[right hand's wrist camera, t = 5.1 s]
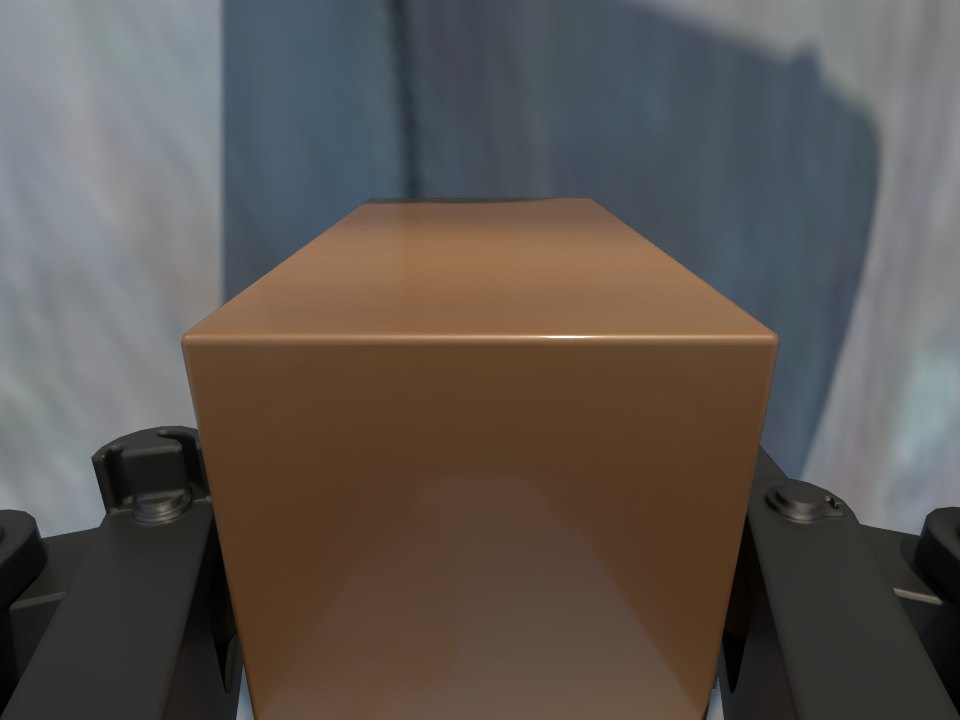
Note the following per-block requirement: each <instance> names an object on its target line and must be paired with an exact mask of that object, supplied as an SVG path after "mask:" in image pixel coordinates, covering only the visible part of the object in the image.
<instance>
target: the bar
mask: <svg viewBox="0 0 960 720" xmlns="http://www.w3.org/2000/svg"><path fill="white" fill-rule="evenodd" d="M181 346H182V351H183V356H184V361H185V366H186V371H187V377H188V382H189V387H190V392H191V397H192V402H193V407H194V413H195V418H196V423H197V428H198V433H199V438H200V443H201V448H202V454H203V459H204V464H205V469H206V474H207V479H208V484H209V490H210V495H211V500H212V505H213V510H214V515H215V520H216V525H217V531H218V536H219V541H220V546H221V551H222V556H223V561H224V566H225V572H226V577H227V582H228V587H229V592H230V597H231V602H232V608H233V613H234V618H235V623H236V628H237V633H238V638H239V643H240V649H241V654H242V659H243V664H244V669H245V674H246V679H247V685H248V690H249V695H250V700H251V705H252V710H253V715H254V720H706V717H707V712H708V707H709V702H710V697H711V692H712V686H713V681H714V676H715V671H716V666H717V661H718V656H719V651H720V645H721V640H722V635H723V630H724V625H725V620H726V615H727V609H728V604H729V599H730V594H731V589H732V584H733V579H734V574H735V568H736V563H737V558H738V553H739V548H740V543H741V538H742V533H743V527H744V522H745V517H746V512H747V507H748V502H749V497H750V492H751V486H752V481H753V476H754V471H755V466H756V461H757V456H758V451H759V445H760V440H761V435H762V430H763V425H764V420H765V415H766V409H767V404H768V399H769V394H770V389H771V384H772V379H773V374H774V368H775V363H776V358H777V353H778V348H779V340H778V336H777V334H776V333H774V332H773V331H772V330H770V329H769V328H768V327H766V326H765V325H764V324H762V323H761V322H759V321H758V320H757V319H755V318H754V317H753V316H751V315H750V314H748V313H747V312H746V311H744V310H743V309H742V308H740V307H739V306H738V305H736V304H735V303H733V302H732V301H731V300H729V299H728V298H727V297H725V296H724V295H722V294H721V293H720V292H718V291H717V290H716V289H714V288H713V287H711V286H710V285H709V284H707V283H706V282H705V281H703V280H702V279H701V278H699V277H698V276H696V275H695V274H694V273H692V272H691V271H690V270H688V269H687V268H685V267H684V266H683V265H681V264H680V263H679V262H677V261H676V260H674V259H673V258H672V257H670V256H669V255H668V254H666V253H665V252H664V251H662V250H661V249H659V248H658V247H657V246H655V245H654V244H653V243H651V242H650V241H648V240H647V239H646V238H644V237H643V236H642V235H640V234H639V233H637V232H636V231H635V230H633V229H632V228H631V227H629V226H628V225H627V224H625V223H624V222H622V221H621V220H620V219H618V218H617V217H616V216H614V215H613V214H611V213H610V212H609V211H607V210H606V209H605V208H603V207H602V206H600V205H599V204H598V203H596V202H595V201H594V200H592V199H590V198H371V199H368V200H367V201H366V202H364V203H363V204H362V205H360V206H359V207H357V208H356V209H355V210H353V211H352V212H351V213H349V214H348V215H346V216H345V217H344V218H342V219H341V220H340V221H338V222H337V223H335V224H334V225H333V226H331V227H330V228H329V229H327V230H326V231H324V232H323V233H322V234H320V235H319V236H318V237H316V238H315V239H313V240H312V241H311V242H309V243H308V244H307V245H305V246H304V247H303V248H301V249H300V250H298V251H297V252H296V253H294V254H293V255H292V256H290V257H289V258H287V259H286V260H285V261H283V262H282V263H281V264H279V265H278V266H276V267H275V268H274V269H272V270H271V271H270V272H268V273H267V274H265V275H264V276H263V277H261V278H260V279H259V280H257V281H256V282H254V283H253V284H252V285H250V286H249V287H248V288H246V289H245V290H243V291H242V292H241V293H239V294H238V295H237V296H235V297H234V298H232V299H231V300H230V301H228V302H227V303H226V304H224V305H223V306H221V307H220V308H219V309H217V310H216V311H215V312H213V313H212V314H210V315H209V316H208V317H206V318H205V319H204V320H202V321H201V322H199V323H198V324H197V325H195V326H194V327H193V328H191V329H190V330H189V331H187V332H186V333H184V334H183V337H182V343H181Z"/></svg>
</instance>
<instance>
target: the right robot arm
mask: <svg viewBox="0 0 960 720" xmlns="http://www.w3.org/2000/svg"><path fill="white" fill-rule="evenodd" d="M91 459H92V462H93V466H94V470H95V473H96V477H97V481H98V484H99V488H100V492H101V495H102V499H103V502H104V506H105V510H106V515H105V517H104V519H103V521H102V523H101V525H100V527H97V528H93V529H89V530H84V531H78V532H73V533H68V534H63V535H57V536H52V537H47V538H41V536H40V533H39V530H38V527H37V524H36V521H35V518H34V517H32V516H31V515H30V514H28V513H27V512H25V511H17V510H9V509H8V510H0V720H236V716H237V708H238V700H239V692H240V685H241V677H242V669H243V659H242V654H241V649H240V643H239V638H238V633H237V628H236V623H235V618H234V613H233V608H232V602H231V597H230V592H229V587H228V582H227V577H226V572H225V566H224V561H223V556H222V551H221V546H220V541H219V536H218V531H217V525H216V520H215V515H214V510H213V505H212V500H211V495H210V490H209V484H208V479H207V474H206V469H205V464H204V459H203V454H202V448H201V443H200V438H199V433H198V430H197V429H194V428H189V427H183V426H163V427H156V428H151V429H145V430H140V431H137V432H134V433H131V434H128V435H125V436H122V437H119V438H118V439H116V440H114V441H112V442H110V443H108V444H106V445H105V446H103V447H101V448H100V449H99V450H98V451H97V452H96V453H95V454H94V455H93V456H92V457H91ZM718 676H719V683H720V691H721V699H722V707H723V715H724V720H960V507H946V508H938V509H935V510H934V511H932V512H931V513H929V514H928V515H927V516H926V519H925V522H924V525H923V528H922V531H921V535H920V536H918V535H913V534H907V533H902V532H897V531H891V530H886V529H881V528H875V527H870V526H866V525H862V524H859V522H858V520H857V518H856V516H855V514H854V512H853V511H852V510H851V509H850V508H849V507H848V505H847V504H846V503H845V502H844V501H843V500H841V499H840V498H838V497H837V496H835V495H834V494H832V493H831V492H829V491H828V490H825V489H823V488H820V487H818V486H815V485H813V484H810V483H808V482H803V481H798V480H794V479H789V478H787V476H786V475H785V474H784V473H783V472H782V471H781V469H780V468H779V467H778V466H777V465H776V463H775V462H774V461H773V460H772V459H771V458H770V456H769V455H768V454H767V453H766V452H765V451H764V449H763V448H762V447H761V446H760V445H759V451H758V456H757V461H756V466H755V471H754V476H753V481H752V486H751V492H750V497H749V502H748V507H747V512H746V517H745V522H744V527H743V533H742V538H741V543H740V548H739V553H738V558H737V563H736V568H735V574H734V579H733V584H732V589H731V594H730V599H729V604H728V609H727V615H726V620H725V625H724V630H723V635H722V640H721V645H720V651H719V656H718V661H717V666H716V671H715V676H714V681H713V686H712V689H716V685H717V680H718Z"/></svg>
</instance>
